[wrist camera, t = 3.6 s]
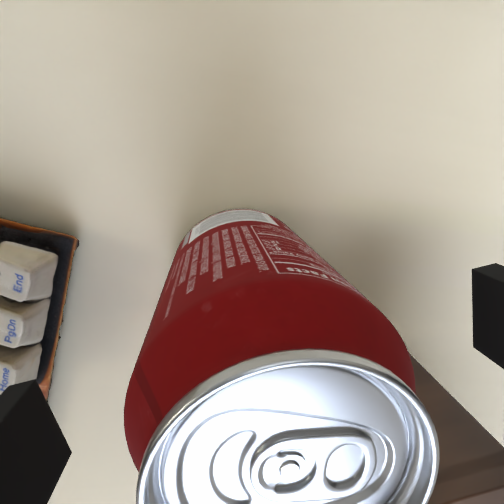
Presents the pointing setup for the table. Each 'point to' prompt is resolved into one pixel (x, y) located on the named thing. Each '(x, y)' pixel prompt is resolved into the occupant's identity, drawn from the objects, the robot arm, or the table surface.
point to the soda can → (272, 381)
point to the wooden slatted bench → (460, 448)
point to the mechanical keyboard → (31, 300)
